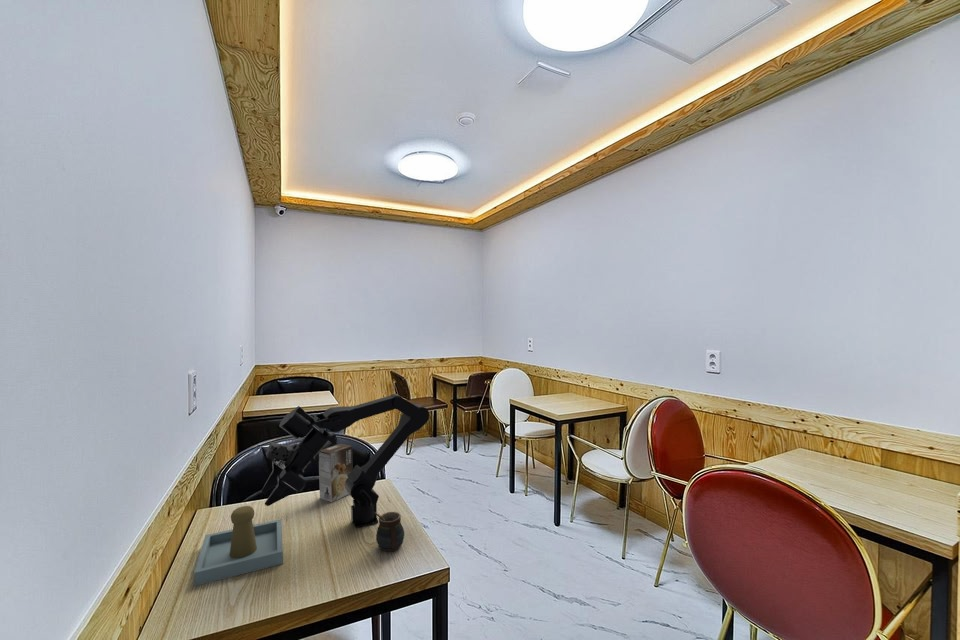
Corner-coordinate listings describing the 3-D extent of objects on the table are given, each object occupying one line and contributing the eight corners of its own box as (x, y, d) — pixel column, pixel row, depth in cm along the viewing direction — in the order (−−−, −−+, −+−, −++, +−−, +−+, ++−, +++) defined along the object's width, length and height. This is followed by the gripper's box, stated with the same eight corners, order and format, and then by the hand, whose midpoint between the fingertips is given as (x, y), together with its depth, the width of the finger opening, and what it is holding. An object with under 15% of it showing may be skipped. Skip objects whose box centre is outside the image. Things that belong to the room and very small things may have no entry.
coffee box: (341, 488, 145) (340, 442, 144) (354, 492, 141) (353, 445, 141) (318, 498, 137) (318, 450, 137) (331, 503, 133) (330, 453, 133)
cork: (233, 561, 101) (232, 516, 101) (226, 551, 105) (225, 508, 105) (260, 551, 105) (259, 508, 105) (252, 542, 109) (252, 500, 109)
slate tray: (281, 529, 117) (281, 519, 117) (283, 563, 101) (282, 551, 101) (205, 546, 109) (205, 534, 109) (194, 586, 93) (194, 572, 93)
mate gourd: (408, 549, 107) (407, 511, 106) (379, 558, 103) (378, 519, 103) (399, 536, 113) (398, 500, 113) (372, 544, 109) (370, 507, 109)
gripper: (281, 423, 118) (237, 470, 112) (290, 439, 102) (239, 495, 97) (311, 445, 122) (270, 491, 117) (324, 464, 107) (278, 519, 101)
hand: (264, 498), depth 108 cm, fingers open, 9 cm apart
